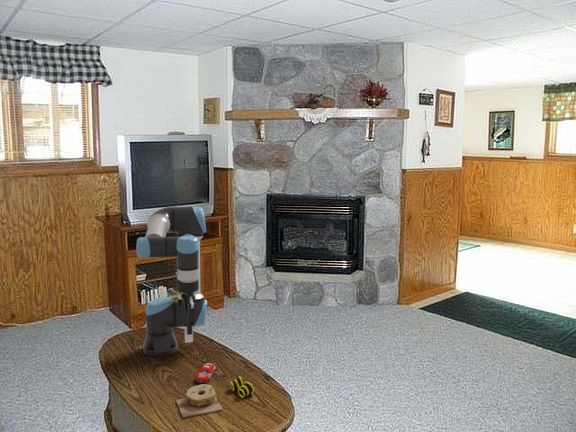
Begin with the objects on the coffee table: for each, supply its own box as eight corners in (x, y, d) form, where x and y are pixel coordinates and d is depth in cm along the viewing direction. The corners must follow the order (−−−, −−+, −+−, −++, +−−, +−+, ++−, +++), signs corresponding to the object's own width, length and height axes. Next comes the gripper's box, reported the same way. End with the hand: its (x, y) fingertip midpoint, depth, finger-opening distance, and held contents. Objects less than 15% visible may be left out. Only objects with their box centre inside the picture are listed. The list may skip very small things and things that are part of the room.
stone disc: (182, 398, 179) (194, 412, 171) (181, 389, 178) (194, 402, 171) (207, 389, 185) (220, 402, 178) (207, 380, 185) (220, 393, 177)
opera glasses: (229, 391, 188) (227, 379, 187) (240, 384, 191) (238, 373, 190) (243, 401, 181) (241, 390, 179) (255, 394, 184) (253, 383, 183)
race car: (207, 385, 191) (207, 376, 190) (193, 384, 192) (193, 374, 191) (217, 370, 204) (217, 361, 203) (205, 368, 204) (205, 359, 204)
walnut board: (176, 401, 178) (176, 400, 178) (213, 394, 184) (213, 392, 184) (182, 418, 167) (182, 417, 167) (222, 410, 173) (222, 408, 173)
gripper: (173, 275, 179) (174, 336, 183) (181, 286, 168) (182, 350, 172) (193, 273, 182) (194, 333, 186) (203, 283, 171) (203, 347, 175)
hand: (188, 341), depth 179 cm, fingers closed
